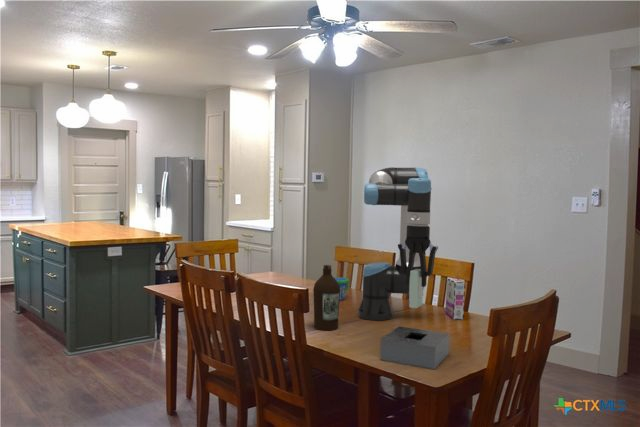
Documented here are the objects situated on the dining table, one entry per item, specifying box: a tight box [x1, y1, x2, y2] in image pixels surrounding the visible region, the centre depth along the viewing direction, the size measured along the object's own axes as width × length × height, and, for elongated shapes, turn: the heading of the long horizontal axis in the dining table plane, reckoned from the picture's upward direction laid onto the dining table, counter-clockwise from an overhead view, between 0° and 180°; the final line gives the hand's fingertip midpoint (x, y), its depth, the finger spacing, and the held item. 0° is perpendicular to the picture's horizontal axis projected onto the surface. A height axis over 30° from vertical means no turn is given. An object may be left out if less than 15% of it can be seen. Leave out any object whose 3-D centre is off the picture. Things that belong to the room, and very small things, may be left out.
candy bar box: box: [445, 277, 466, 321], centre depth 237 cm, size 11×5×16 cm, turn 5°
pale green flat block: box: [409, 269, 423, 309], centre depth 180 cm, size 2×6×12 cm, turn 152°
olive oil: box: [312, 264, 341, 332], centre depth 215 cm, size 11×11×25 cm
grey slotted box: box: [379, 326, 451, 370], centre depth 181 cm, size 18×18×7 cm
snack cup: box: [333, 276, 350, 301], centre depth 269 cm, size 16×10×10 cm
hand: (416, 295), depth 180 cm, fingers closed on pale green flat block, 2 cm apart
